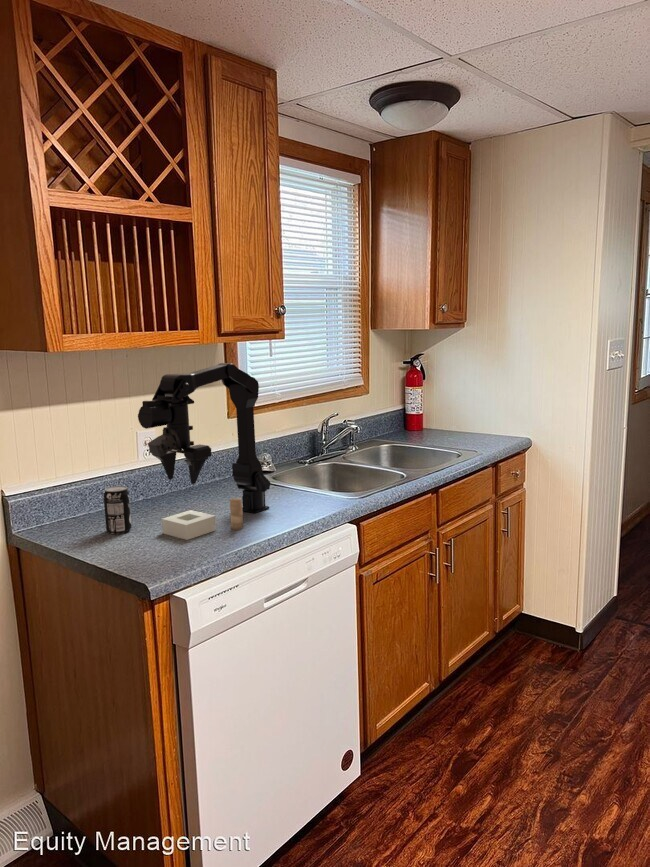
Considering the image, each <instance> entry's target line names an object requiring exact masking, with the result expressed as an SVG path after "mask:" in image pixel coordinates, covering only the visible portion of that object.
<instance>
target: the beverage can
mask: <svg viewBox="0 0 650 867" xmlns="http://www.w3.org/2000/svg"><path fill="white" fill-rule="evenodd" d="M103 493H104V494H103V504H104V516H105V517H104V518H105V529H106V532H108V533H109V534H110V535H122V534H126V533H129V532H130V531H131V529H132V528H133V527H132V516H131V514H132V513H131V500H130V492H129V490H128V487H127V486H125V485H113V486H112V485H111V486H108V487H106V488H105V489H104V492H103Z"/></svg>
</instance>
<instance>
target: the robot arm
mask: <svg viewBox="0 0 650 867" xmlns="http://www.w3.org/2000/svg"><path fill="white" fill-rule="evenodd" d="M219 381H221V383H222V385H224V387H226V388H227V390H228V393H229V397H230V400H231V402H232V403H233V405H234V407H235V410H236V411H235V412H236V427H237V428H236V429H237V445H238V446H237V448H238V457H237V459H236V461H235V462H233V463H232V464H231V469H232V474H231V477H233V481H234V482H235V484H236V486H237V489H238V490H242V496H241V499H242V512H249V513H253V514H256V513H259V512H261V511H265V510H268V509H270V506H269V505H266V492H267V491H269V490H270V486H271V481H270V480H269V479H268V478H267V477H266V476H265V475H264V472H263V467H262V463H261V462H260V460H259V458H258V457H257V453H256V434H255V433H256V431H255V413H254V408H255V407H254V406H255V405H256V403H257V401H258V398H259V393H260V392H259V391H260V390H259V388H260V385H259V381H258V380H257V379H256V378H255V377H253V376H251V375H250V374H249V373H248V372H245V371H244V370H241V369H239V368H238V367H237V366H236V365H235V364H233V363H231V362H229V363H228V362H227V363H226V362H221V363H218V364H216V365H213V366H209V367H205V368H203V369H198V370H194V371H192V372H187V373H167V374H164V375H163V376H161V379H160V382H159V385H158V386H157V389H156V391H155V393H154V394H153V397H152V399H151V400H142V405H141V407H140V408H139V410H138V414H137V419H138V423H139V424H140V426H141V427H142V428H143V429H146V430H147V429H153V428H158V427H163V426H165V427H163V429H162V433H161V435H159V436H157V437H155V438H153V439H152V440H151V441H149V442H148V443H147V446H148V450H149V451H148V452H149V454H151V455H152V456H153V457H155V458H157V460H159V461H160V463H161V465H162V466H163V470H164V471H165V474H166V476H167V479H168V480H169V481H170V480H173V479H174V475H175V466H176V461H177V460H176V459H177V453H179V454H183V457H185V458H186V459H183V461H184V462H185V463H186V465H187V466H188V472H189V480H190V483H191V485H194V484H196V482H197V481H198V478H199V475H200V473H201V471H202V469H203V466H204V465H205V462H206V460H209V457H212V456H213V455H212V454H213V453H212V448H211V447H210V445H207V444H195V443H194V442H195V441H193V440H191V432H190V431H192V430H193V431H194V426H193V425H190V419H189V415H190V414H189V405H193V404H194V403H195V401H194V399H192V398H191V397H190V396H189V395H191V394H193V393H194V392H195V391H196V390H197V389H198V388H200V387H203V386H206V385H210V384H213V383H216V382H219Z"/></svg>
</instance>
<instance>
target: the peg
mask: <svg viewBox="0 0 650 867" xmlns="http://www.w3.org/2000/svg"><path fill="white" fill-rule="evenodd" d="M242 507H243V504H242V497H241V498H240V497H233V498H230V499H229V509H230V510H229V511H230V528H231V530H233V531H238V530H243V529H244V518H243V517H244V516H243V515H244V514H243V510H242Z"/></svg>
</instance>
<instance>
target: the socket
mask: <svg viewBox="0 0 650 867" xmlns="http://www.w3.org/2000/svg"><path fill="white" fill-rule="evenodd" d="M161 531H162V534H164V535H167V536H171V537H175V538H177V539H178V538H179V539H181V540H182V539H183V540H186V541H189V540H191V539H194V538H197V537H199V536H203V535H206V534H208V533H211V532H214V531H217V522H216V515H214V514H209V513H205V512H200V511H196V510H191V509H190V510H187V511H183V512H180V513H177V514H173V515H170V516H167V517H163V518H161Z"/></svg>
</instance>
